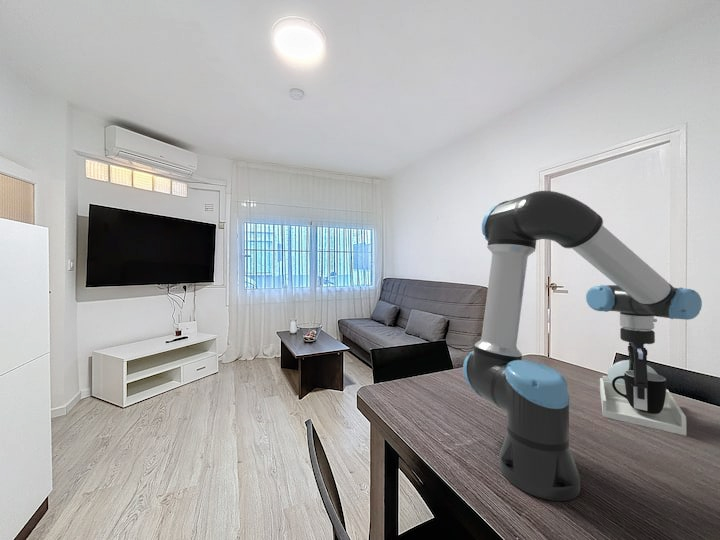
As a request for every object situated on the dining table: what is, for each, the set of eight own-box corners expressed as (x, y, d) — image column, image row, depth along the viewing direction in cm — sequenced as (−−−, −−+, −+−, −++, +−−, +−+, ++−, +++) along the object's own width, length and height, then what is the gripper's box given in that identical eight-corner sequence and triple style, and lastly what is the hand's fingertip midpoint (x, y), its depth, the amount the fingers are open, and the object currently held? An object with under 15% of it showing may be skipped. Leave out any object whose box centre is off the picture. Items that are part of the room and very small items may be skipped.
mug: (668, 409, 86) (668, 375, 86) (664, 420, 80) (664, 383, 80) (615, 396, 95) (615, 365, 95) (608, 404, 90) (608, 371, 90)
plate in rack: (662, 406, 91) (661, 364, 91) (608, 395, 99) (607, 357, 99) (661, 404, 92) (660, 363, 92) (608, 394, 100) (607, 356, 100)
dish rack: (686, 435, 77) (686, 413, 77) (603, 416, 87) (602, 396, 87) (667, 404, 94) (667, 386, 94) (600, 391, 104) (599, 375, 104)
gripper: (662, 337, 76) (663, 421, 76) (648, 324, 93) (649, 393, 93) (623, 333, 81) (625, 413, 81) (617, 321, 98) (618, 388, 98)
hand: (638, 402), depth 87 cm, fingers closed on mug, 9 cm apart
